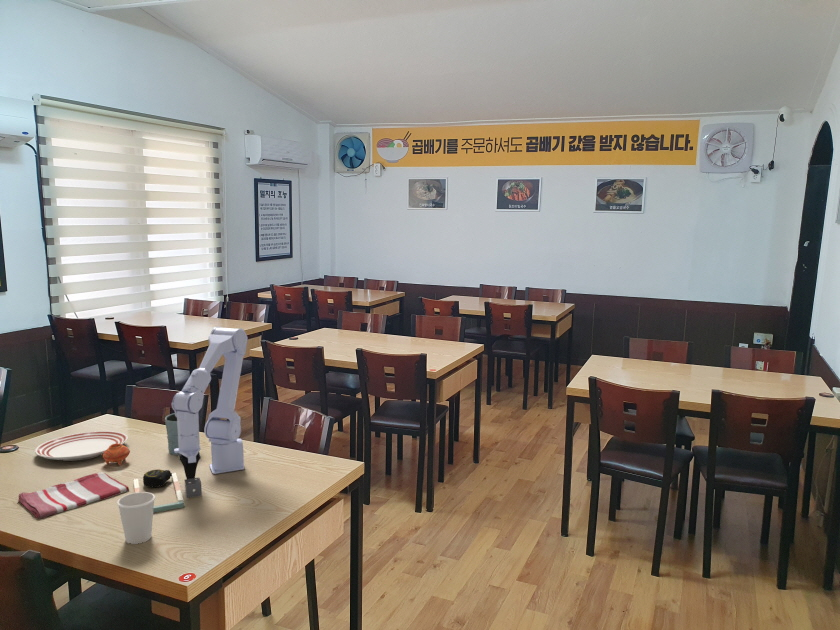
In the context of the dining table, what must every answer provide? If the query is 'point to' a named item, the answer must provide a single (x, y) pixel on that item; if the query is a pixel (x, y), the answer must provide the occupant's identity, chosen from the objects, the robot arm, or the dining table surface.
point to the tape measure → (156, 478)
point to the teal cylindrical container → (172, 433)
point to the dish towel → (71, 494)
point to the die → (193, 487)
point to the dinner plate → (80, 445)
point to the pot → (116, 453)
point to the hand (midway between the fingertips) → (190, 478)
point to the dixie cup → (137, 516)
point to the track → (171, 505)
